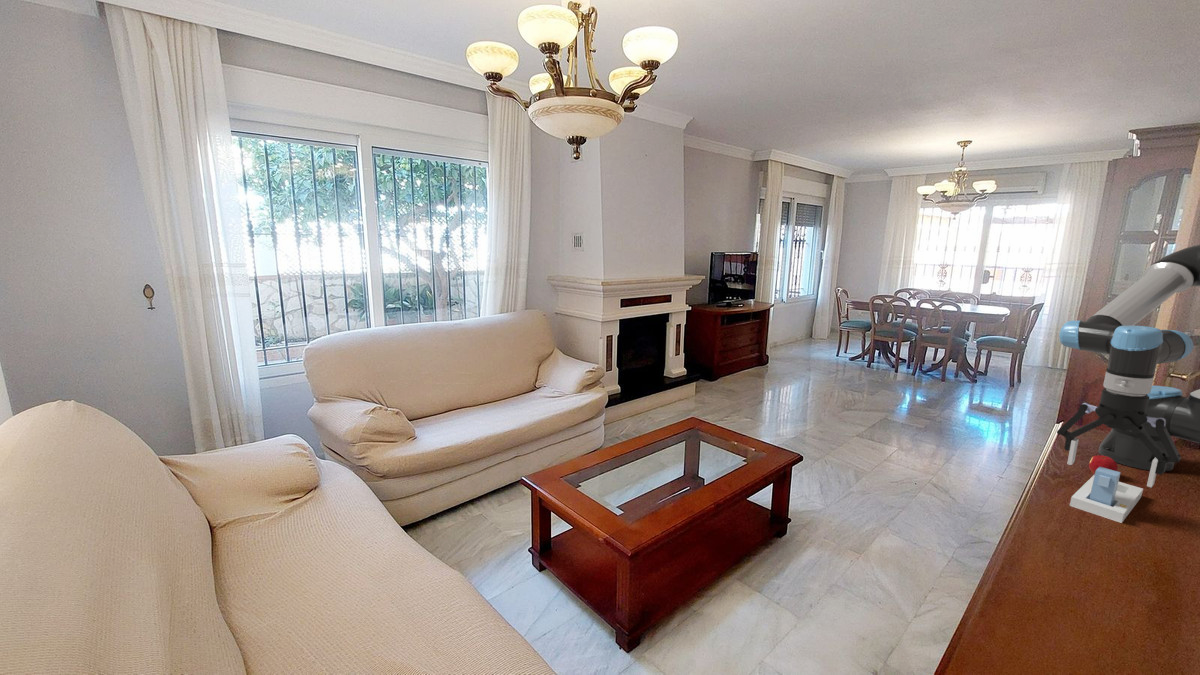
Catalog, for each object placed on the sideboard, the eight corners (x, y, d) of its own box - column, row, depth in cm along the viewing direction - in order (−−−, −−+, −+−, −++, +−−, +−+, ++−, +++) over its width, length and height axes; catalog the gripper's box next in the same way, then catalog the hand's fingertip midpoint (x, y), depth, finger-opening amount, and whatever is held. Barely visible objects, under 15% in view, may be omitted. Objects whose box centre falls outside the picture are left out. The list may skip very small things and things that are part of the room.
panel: (1091, 484, 129) (1094, 473, 129) (1140, 499, 122) (1143, 487, 121) (1069, 507, 119) (1071, 496, 118) (1121, 525, 111) (1123, 513, 111)
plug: (1091, 502, 120) (1099, 466, 118) (1112, 509, 117) (1120, 472, 115) (1086, 508, 117) (1094, 471, 115) (1107, 514, 114) (1116, 477, 112)
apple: (1096, 483, 130) (1101, 461, 129) (1072, 469, 138) (1077, 448, 136) (1130, 485, 129) (1135, 463, 127) (1104, 471, 136) (1109, 450, 135)
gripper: (1050, 382, 119) (1036, 459, 124) (1208, 410, 99) (1185, 501, 103) (1059, 376, 123) (1046, 451, 128) (1213, 402, 103) (1191, 490, 107)
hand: (1108, 473), depth 115 cm, fingers open, 13 cm apart
